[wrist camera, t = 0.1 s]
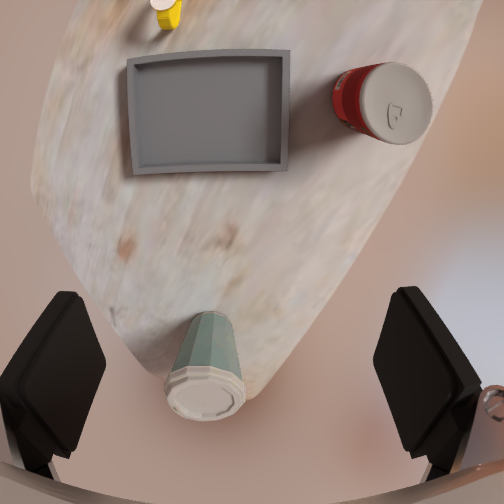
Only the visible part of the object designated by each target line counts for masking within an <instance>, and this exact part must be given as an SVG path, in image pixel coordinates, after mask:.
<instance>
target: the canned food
mask: <svg viewBox="0 0 504 504" xmlns="http://www.w3.org/2000/svg"><path fill="white" fill-rule="evenodd" d="M332 102H333V107H334V110H335V113H336V115H337V116H338V118H339V119H340V120H341V122H342V123H343V124H345V125H346V126H347V127H349V128H351V129H353V130H355V131H358V132H361V133H363V134H366V135H368V136H371V137H373V138H376V139H378V140H381V141H384V142H387V143H389V144H396V145H404V144H409V143H412V142H414V141H415V140H417V139H418V138H420V137H421V136H422V135H423V134H424V132H425V131H426V130H427V128H428V126H429V124H430V122H431V118H432V113H433V99H432V95H431V91H430V89H429V87H428V84H427V83H426V81H425V80H424V78H423V77H422V76H421V75H420V74H419V72H417V71H416V70H415V69H413V68H412V67H410V66H408V65H406V64H402V63H396V62H388V63H381V64H375V65H370V66H365V67H360V68H356V69H352V70H349V71H347V72H345V73H344V74H343V75H341V76H340V78H339V79H338V80H337V82H336V84H335V86H334V89H333V93H332Z"/></svg>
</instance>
